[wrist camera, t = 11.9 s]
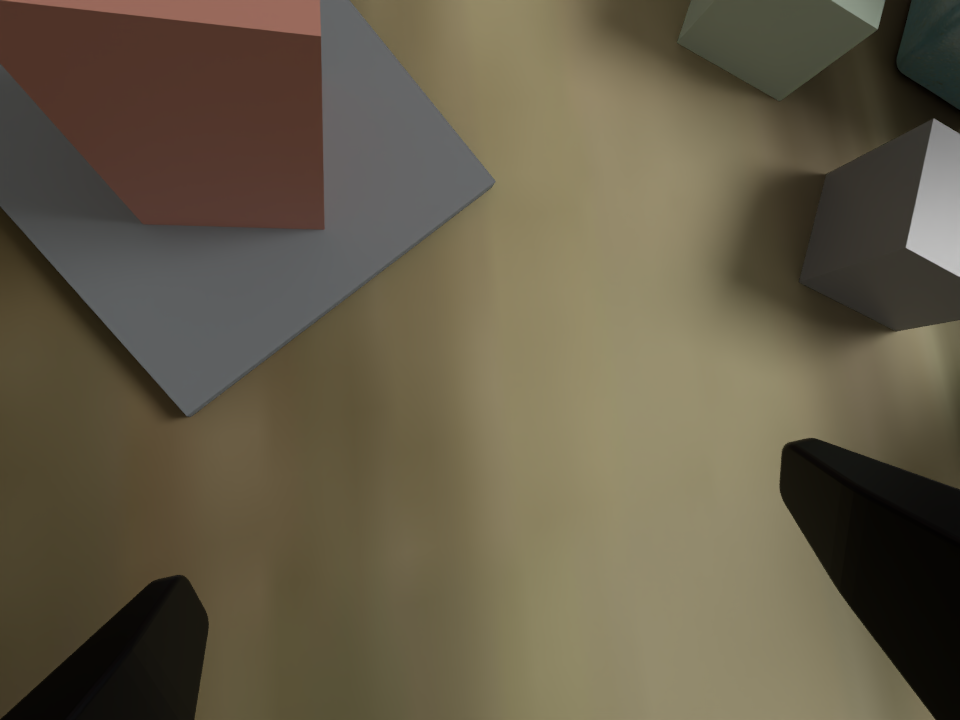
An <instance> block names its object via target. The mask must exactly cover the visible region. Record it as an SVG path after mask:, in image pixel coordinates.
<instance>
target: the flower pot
mask: <svg viewBox="0 0 960 720" xmlns="http://www.w3.org/2000/svg"><path fill="white" fill-rule="evenodd" d="M896 62H897V67H898V69H899V70H900V72H901V73H903V74H904V75H906V76H907V77H909V78H910V79H912V80H913V81H915V82H917V83H918V84H920V85H922V86H923V87H925V88H926V89H928V90H930V91H931V92H933V93H934V94H936V95H937V96H939V97H941V98H942V99H944V100H945V101H947V102H948V103H950V104H951V105H953V106H954V107H956V108H958V109H959V110H960V0H912V1H911V5H910V9H909V13H908V17H907V21H906V25H905V29H904V33H903V37H902V40H901V44H900V48H899V51H898V55H897V60H896Z"/></svg>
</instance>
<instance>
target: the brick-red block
mask: <svg viewBox="0 0 960 720" xmlns="http://www.w3.org/2000/svg"><path fill="white" fill-rule="evenodd" d="M0 64H1V65H2V66H3V67H4V68H5V69H6V71H7V72H8V73H9V74H10V75H11V76H12V77H13V78H14V80H15V81H16V82H17V83H18V84H19V85H20V86H21V87H22V89H23V90H24V91H25V92H26V93H27V94H28V95H29V96H30V98H31V99H32V100H33V101H34V102H35V103H36V104H37V105H38V107H39V108H40V109H41V110H42V111H43V112H44V113H45V114H46V116H47V117H48V118H49V119H50V120H51V121H52V122H53V123H54V125H55V126H56V127H57V128H58V129H59V130H60V131H61V132H62V134H63V135H64V136H65V137H66V138H67V139H68V140H69V141H70V143H71V144H72V145H73V146H74V147H75V148H76V149H77V151H78V152H79V153H80V154H81V155H82V156H83V157H84V158H85V160H86V161H87V162H88V163H89V164H90V165H91V166H92V167H93V169H94V170H95V171H96V172H97V173H98V174H99V175H100V176H101V178H102V179H103V180H104V181H105V182H106V183H107V184H108V185H109V187H110V188H111V189H112V190H113V191H114V192H115V193H116V194H117V196H118V197H119V198H120V199H121V200H122V201H123V202H124V203H125V205H126V206H127V207H128V208H129V209H130V210H131V211H132V212H133V214H134V215H135V216H136V217H137V218H138V219H139V220H140V221H141V223H142V224H148V225H182V226H216V227H250V228H284V229H318V230H325V224H324V171H323V118H322V65H321V21H320V0H0Z"/></svg>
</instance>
